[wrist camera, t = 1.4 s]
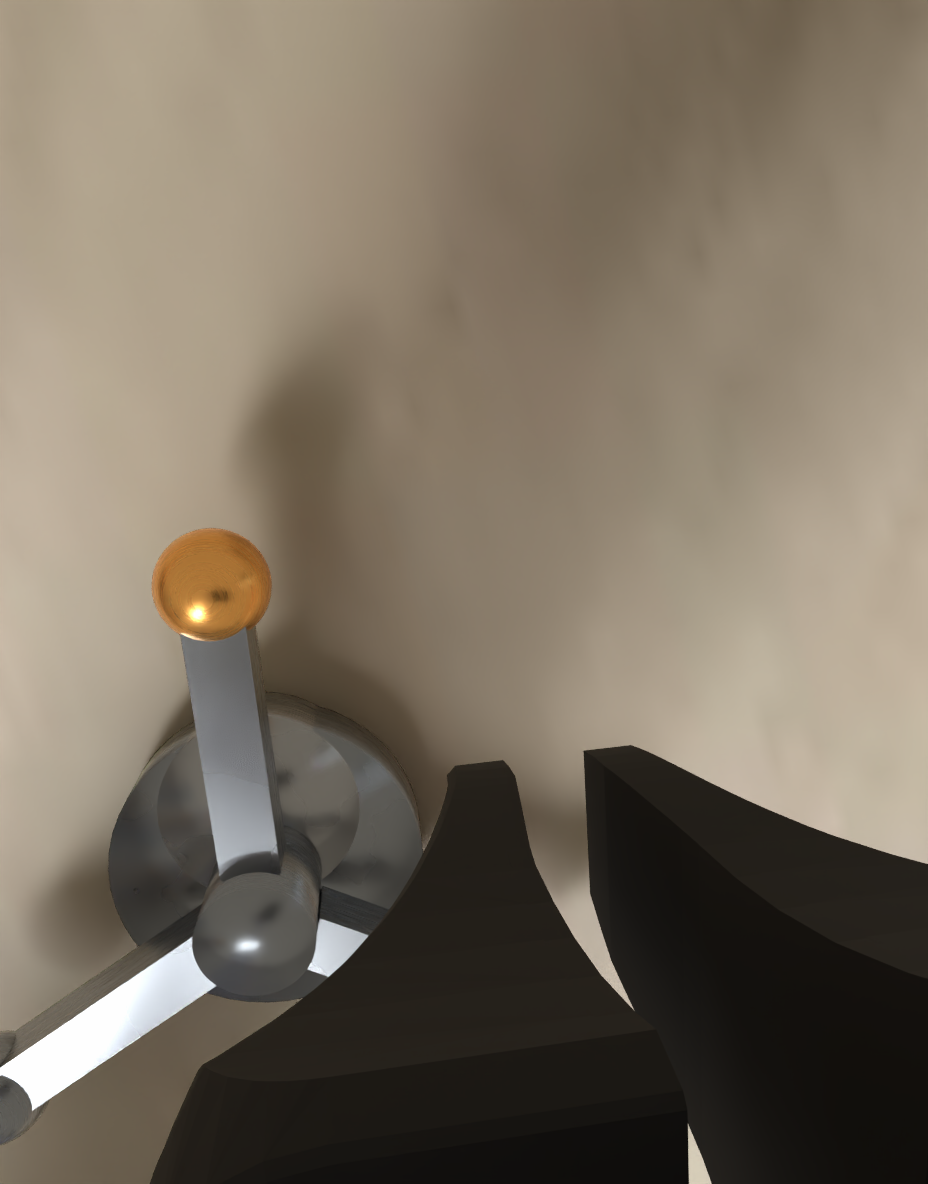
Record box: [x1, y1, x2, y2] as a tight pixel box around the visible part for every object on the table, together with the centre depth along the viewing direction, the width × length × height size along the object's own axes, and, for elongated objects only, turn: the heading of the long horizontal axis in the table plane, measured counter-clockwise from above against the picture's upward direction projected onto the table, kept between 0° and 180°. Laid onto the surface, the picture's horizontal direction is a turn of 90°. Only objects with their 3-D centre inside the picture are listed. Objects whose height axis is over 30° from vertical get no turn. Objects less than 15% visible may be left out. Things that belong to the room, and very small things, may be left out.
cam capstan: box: [0, 528, 423, 1146], centre depth 19 cm, size 13×14×4 cm
